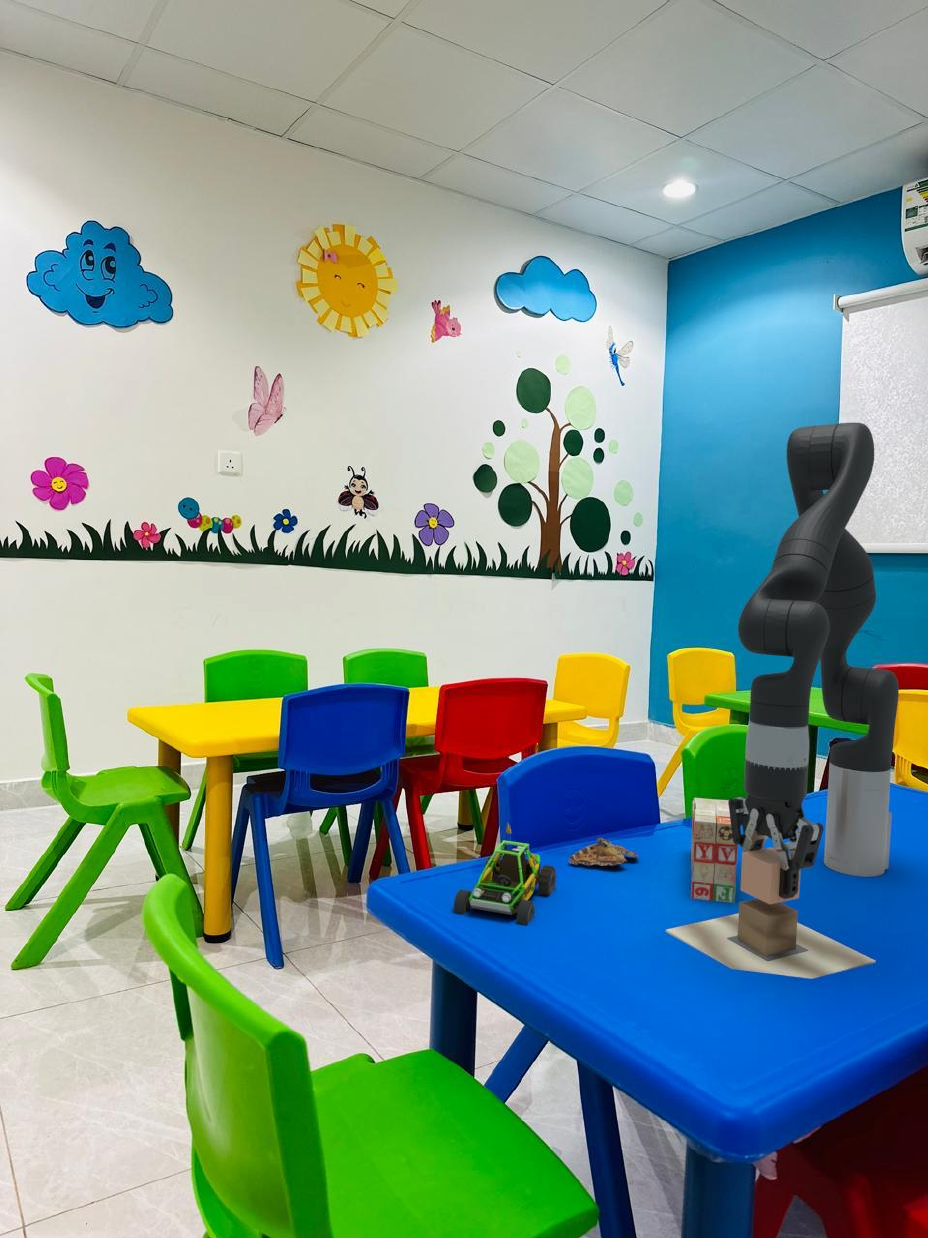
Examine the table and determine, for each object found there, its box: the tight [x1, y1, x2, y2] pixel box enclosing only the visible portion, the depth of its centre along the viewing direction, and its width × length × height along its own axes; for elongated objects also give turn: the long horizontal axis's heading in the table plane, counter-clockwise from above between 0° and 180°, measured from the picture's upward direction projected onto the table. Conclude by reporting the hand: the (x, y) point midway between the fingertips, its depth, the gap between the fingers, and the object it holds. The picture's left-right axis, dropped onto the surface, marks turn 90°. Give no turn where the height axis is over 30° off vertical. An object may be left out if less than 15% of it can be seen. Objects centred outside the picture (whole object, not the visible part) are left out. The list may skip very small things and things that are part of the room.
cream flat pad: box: [665, 912, 876, 980], centre depth 115 cm, size 18×18×1 cm
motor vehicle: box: [453, 822, 557, 926], centre depth 129 cm, size 11×18×10 cm, turn 159°
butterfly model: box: [568, 837, 640, 867], centre depth 147 cm, size 9×12×3 cm
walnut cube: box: [738, 898, 799, 956], centre depth 115 cm, size 5×5×5 cm
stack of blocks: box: [690, 797, 739, 904], centre depth 141 cm, size 21×6×12 cm, turn 166°
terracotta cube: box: [740, 847, 802, 904], centre depth 114 cm, size 5×5×5 cm
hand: (769, 888), depth 114 cm, fingers closed on terracotta cube, 5 cm apart
